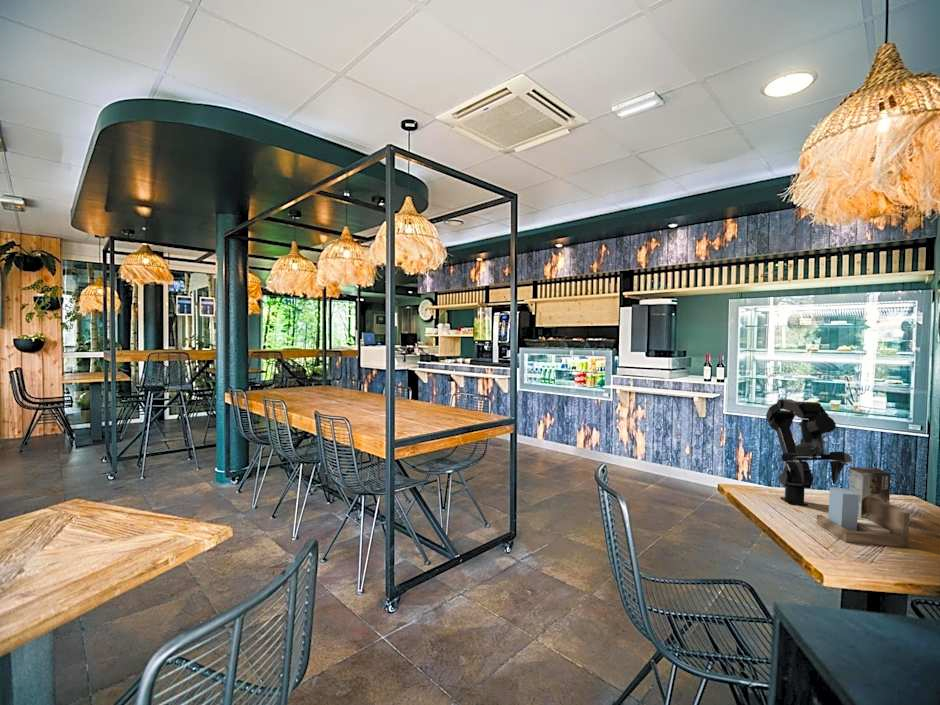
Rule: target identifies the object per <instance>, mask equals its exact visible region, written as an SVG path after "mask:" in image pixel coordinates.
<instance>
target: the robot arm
mask: <svg viewBox="0 0 940 705" xmlns="http://www.w3.org/2000/svg"><path fill="white" fill-rule="evenodd" d="M795 417H798V418H800V419H802V420H801V421H800V422H799V424H798V426H799V427H800V430H801V431H800V432H801V439H800V443H799V444H796V441H795V439H794V436H793V433H792V430H791V426H792V424H793V422H794V418H795ZM765 419H766V421H767V423H768V425H769V426H770V428H771V429H772V430H774V431H775V432H776V435H777V437H778V442H779V444H780V448H781V451H782V453H781V455H780V458H781V461H782V462H785V464H784V467H783V469H782V473H781V474H780V475H779V477H778V479H779V484H781V485H782V486H783V487H784V496H780V499H781V500H782V499H783V500H782V501H784V502H786V503H787V502H788V503H787V504H789V505H796V504H800V506H808V505H809V503H808V502H806V501H805V489H809V490H810V489H812V484H813V481H814V475H813V473H812V470H811V468H810V464H809V463H808V461H828V462H829V465H830V467H831V468H830V469H831V470H830V472H831V481H832V484H833V485H836V483H837V481H838V478H839V476H840V473H841V471H842V470H843V468H844V467H845V466H847V465H848V463H853V462H852V457H851V454H849V453H847V452H845V451H830V452H829V453H828V454H827V453H826V452H825V446H824V445H825V443H826V441H824V440H823V438H824V437H823V435H826V434H829V433H832V432H833V431H835V429H836V427H837V426H836V425H837V424H836V422H835V421H834V419H833V418H832V417H830V416H829V414H828V412H827V411H826V410H825V409H824V407H823V406H822V404H821V402H814V401H813V402H812V401H809V402H808V401H797V400H793V399H788V398H787V399H786V398H785V399H784V398H779V399H777V402H776V403H775V404H773V405H772V406H769V408H768V409H767V412H766V414H765Z"/></svg>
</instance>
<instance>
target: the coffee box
mask: <svg viewBox="0 0 940 705" xmlns="http://www.w3.org/2000/svg"><path fill="white" fill-rule="evenodd" d="M848 487H849V488H848V490H850V491H852V492H854V493H856V494H858V495H859V500H858V518H860V519H861V518H862V519H868V513H869V497H875V498H877V499H879V500H881V501H884V502H886V503H888V504H890V494H891V493H890V492H891V472H887V471H885V470H883V469H881V468H879V467H878V468H877V467H862V466H861V467H858V466H857V467H856V466H855V467H854V466H850V467H849V486H848Z"/></svg>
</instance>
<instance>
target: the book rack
mask: <svg viewBox="0 0 940 705" xmlns="http://www.w3.org/2000/svg"><path fill="white" fill-rule="evenodd" d="M910 515H911V513H909V512H908V511H905V510H903V509H900V508H899V507H896V506H894V505H893V504H890V503H889V504H888V503H886V502H884V501H881V500H879V499H877V498H875V497H869V513H868V518H867V520H865V519H857V531H848V530H846V529H844V528H843V527H841V526H839V525H838V524H836V523H834V522H833V521H831V520H829V519H828V517H826V516H825V515H822V514H816V521H815V522H816V525H818V526H819V527H821V528H822V529H824V530H826V531H827V532H828V533H831V534H833V536H834V537H836V538H838V539H840V540H842V541H843V542H845V543H851V544H866V545H879V546H895V547H907V548H908V547H909V537H910V534H909V533H910V522H911V521H910V518H911V516H910Z"/></svg>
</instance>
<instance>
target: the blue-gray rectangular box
mask: <svg viewBox="0 0 940 705" xmlns="http://www.w3.org/2000/svg"><path fill="white" fill-rule="evenodd" d="M858 500H859V495H858V494H856V493H854V492H852V491H850V490H849V488H848V489H847V488H844V487H829V501H828V514H827V515H828V517H827V518H828V519H829V520H831V521H833V522H834V523H836V524H838V525H839V526H841V527H843V528H844V529H846V530H848V531H857V520H858V518H859V516H858Z"/></svg>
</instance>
